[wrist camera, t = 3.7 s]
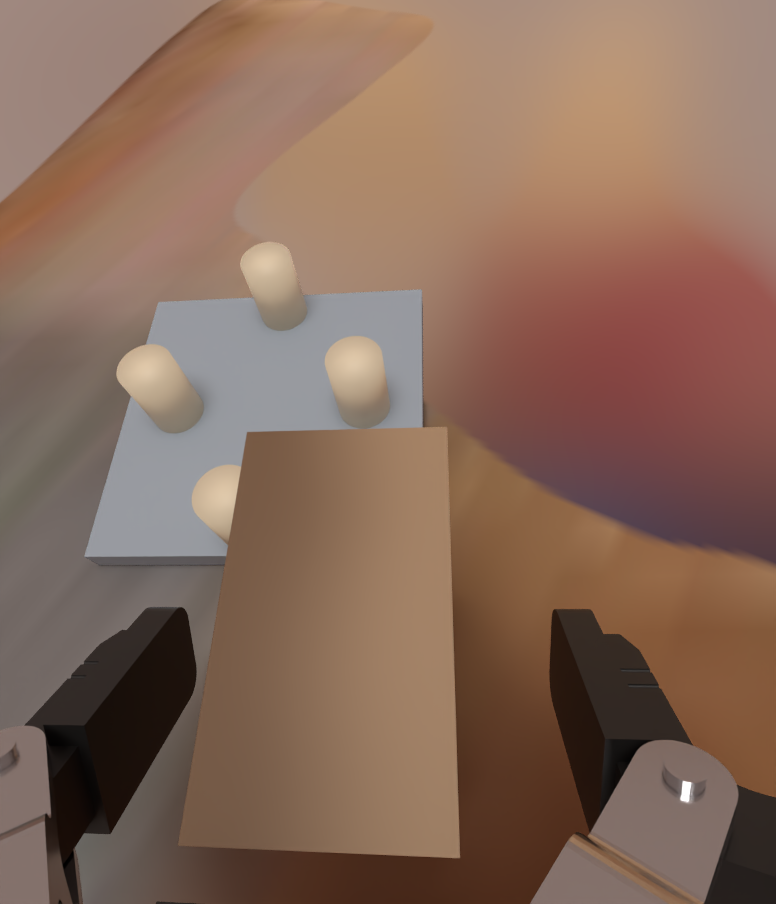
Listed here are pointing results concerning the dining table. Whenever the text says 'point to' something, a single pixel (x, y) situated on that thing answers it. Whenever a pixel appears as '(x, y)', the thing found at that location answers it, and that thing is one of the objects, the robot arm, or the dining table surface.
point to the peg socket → (245, 401)
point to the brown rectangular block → (332, 652)
